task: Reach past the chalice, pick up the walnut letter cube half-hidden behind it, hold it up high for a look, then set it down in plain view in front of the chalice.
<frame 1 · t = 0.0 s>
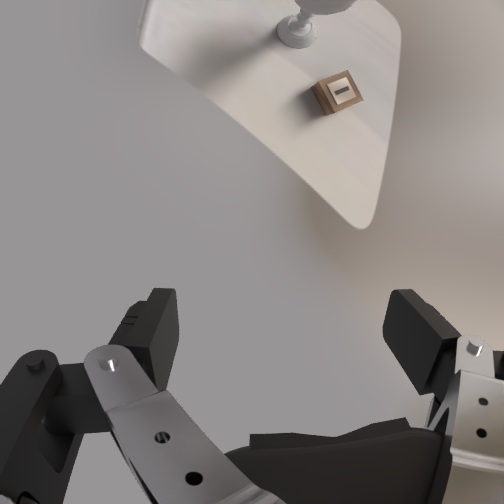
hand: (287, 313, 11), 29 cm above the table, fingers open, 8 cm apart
chalice: (296, 31, 32), on the table
walnut cube: (331, 95, 35), on the table
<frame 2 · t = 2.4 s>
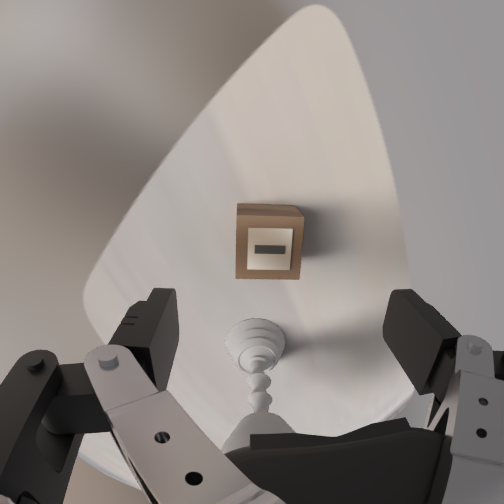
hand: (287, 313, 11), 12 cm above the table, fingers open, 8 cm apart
chalice: (255, 342, 26), on the table
walnut cube: (264, 231, 23), on the table
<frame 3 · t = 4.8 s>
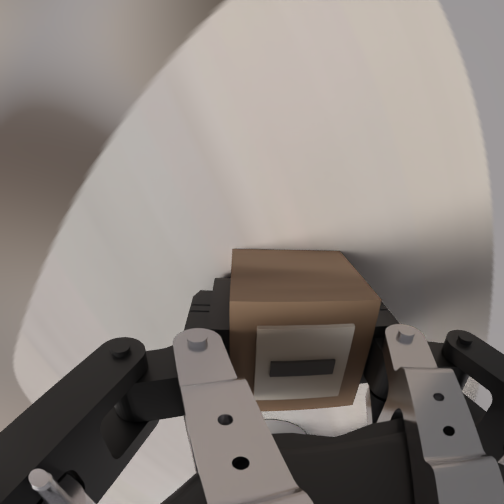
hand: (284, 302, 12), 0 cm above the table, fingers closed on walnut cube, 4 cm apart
chalice: (263, 443, 16), on the table
walnut cube: (283, 298, 12), on the table, touching gripper
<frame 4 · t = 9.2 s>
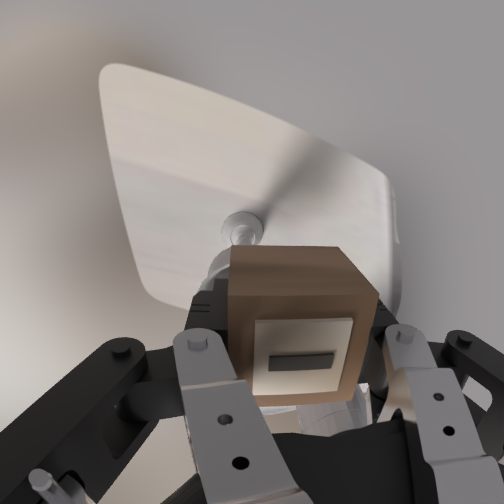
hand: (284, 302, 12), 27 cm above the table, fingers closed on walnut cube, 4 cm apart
chalice: (242, 231, 39), on the table
walnut cube: (282, 294, 12), point 26 cm above the table, touching gripper
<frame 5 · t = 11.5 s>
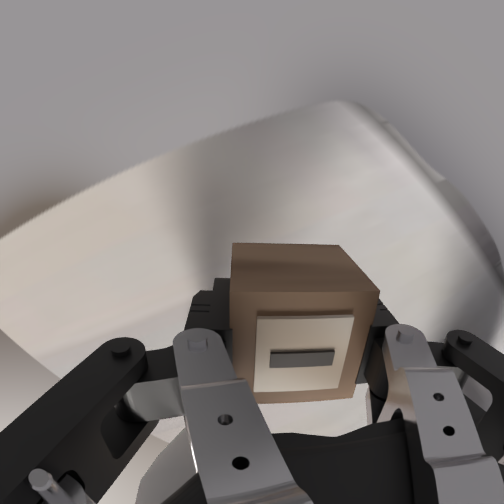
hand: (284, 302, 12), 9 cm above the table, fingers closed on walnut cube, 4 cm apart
chalice: (215, 343, 24), on the table
walnut cube: (283, 292, 12), point 9 cm above the table, touching gripper
when the fingers open (2 cm above the table, at t = 13.6 s): walnut cube drops 1 cm, on the table.
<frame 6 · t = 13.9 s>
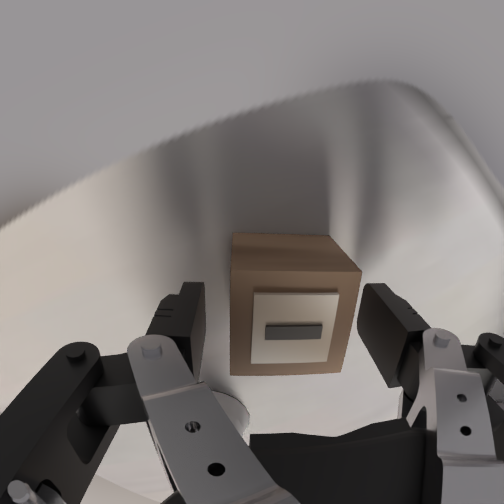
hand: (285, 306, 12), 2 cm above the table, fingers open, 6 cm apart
chalice: (206, 416, 17), on the table
walnut cube: (278, 278, 14), on the table
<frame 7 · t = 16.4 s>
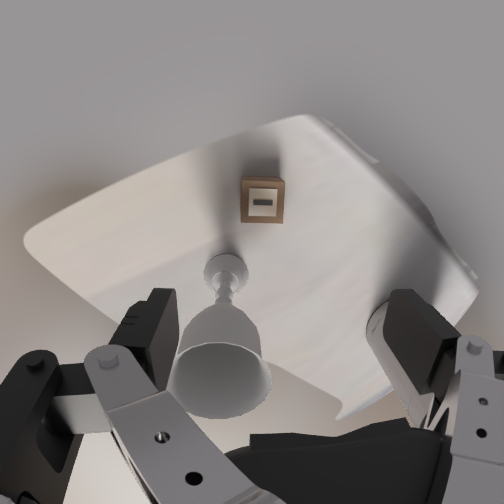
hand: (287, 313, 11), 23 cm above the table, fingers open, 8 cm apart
chalice: (226, 274, 36), on the table
walnut cube: (260, 195, 33), on the table
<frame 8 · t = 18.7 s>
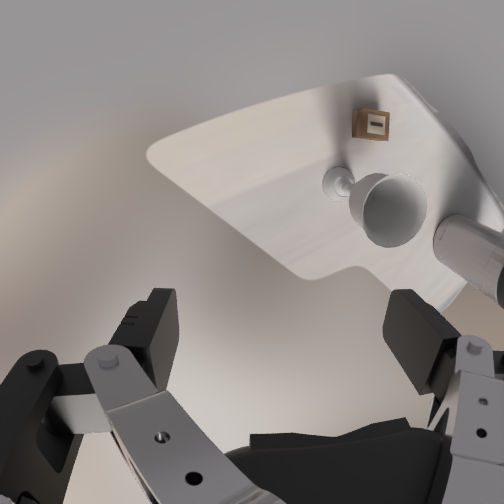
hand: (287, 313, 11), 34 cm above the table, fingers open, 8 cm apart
chalice: (338, 184, 44), on the table
walnut cube: (365, 125, 41), on the table
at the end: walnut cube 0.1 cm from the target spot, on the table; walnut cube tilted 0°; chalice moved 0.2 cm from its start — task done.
